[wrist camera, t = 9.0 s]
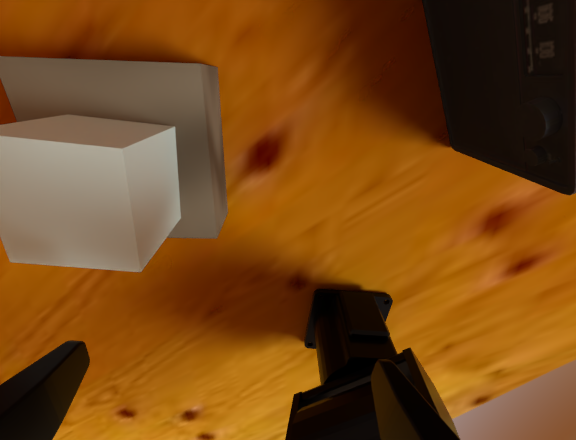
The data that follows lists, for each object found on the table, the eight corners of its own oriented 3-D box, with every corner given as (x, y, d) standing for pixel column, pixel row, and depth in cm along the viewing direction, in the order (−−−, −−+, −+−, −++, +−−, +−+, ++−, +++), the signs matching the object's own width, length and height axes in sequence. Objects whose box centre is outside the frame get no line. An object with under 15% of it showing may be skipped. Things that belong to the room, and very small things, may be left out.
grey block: (228, 210, 20) (217, 238, 16) (100, 207, 20) (60, 235, 16) (218, 67, 16) (200, 63, 12) (58, 61, 16) (-9, 55, 12)
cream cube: (181, 218, 16) (140, 272, 11) (89, 209, 15) (10, 262, 11) (175, 126, 14) (122, 148, 9) (67, 114, 13) (-42, 131, 9)
